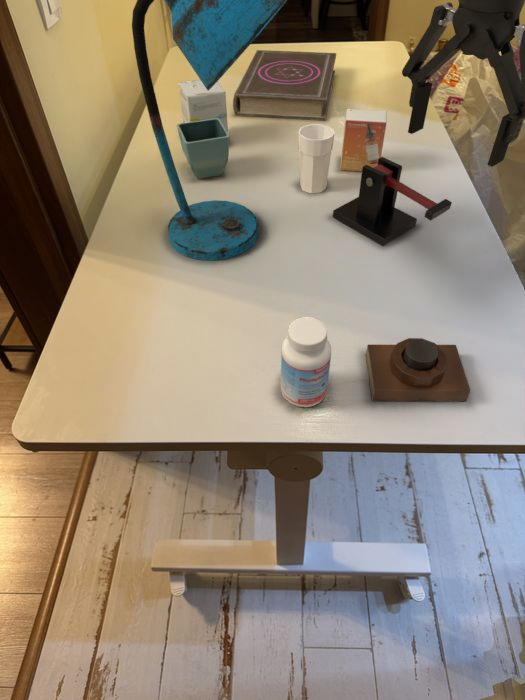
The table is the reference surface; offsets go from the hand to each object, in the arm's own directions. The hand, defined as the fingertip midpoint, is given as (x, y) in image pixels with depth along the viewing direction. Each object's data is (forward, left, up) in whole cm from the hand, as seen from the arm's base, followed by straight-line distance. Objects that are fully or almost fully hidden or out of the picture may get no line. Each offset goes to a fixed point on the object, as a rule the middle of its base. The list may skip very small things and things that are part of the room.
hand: (453, 146), depth 75 cm
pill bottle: (+5, +37, -19) cm, 42 cm away
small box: (+21, -22, -19) cm, 36 cm away
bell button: (-7, +28, -15) cm, 33 cm away
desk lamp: (+33, +12, -19) cm, 40 cm away
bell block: (-7, +28, -18) cm, 34 cm away
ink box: (+56, -17, -19) cm, 61 cm away
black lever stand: (+11, -4, -18) cm, 22 cm away
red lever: (+6, -2, -11) cm, 13 cm away
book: (+52, -49, -19) cm, 74 cm away
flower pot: (+48, -5, -19) cm, 52 cm away
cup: (+26, -10, -19) cm, 33 cm away
